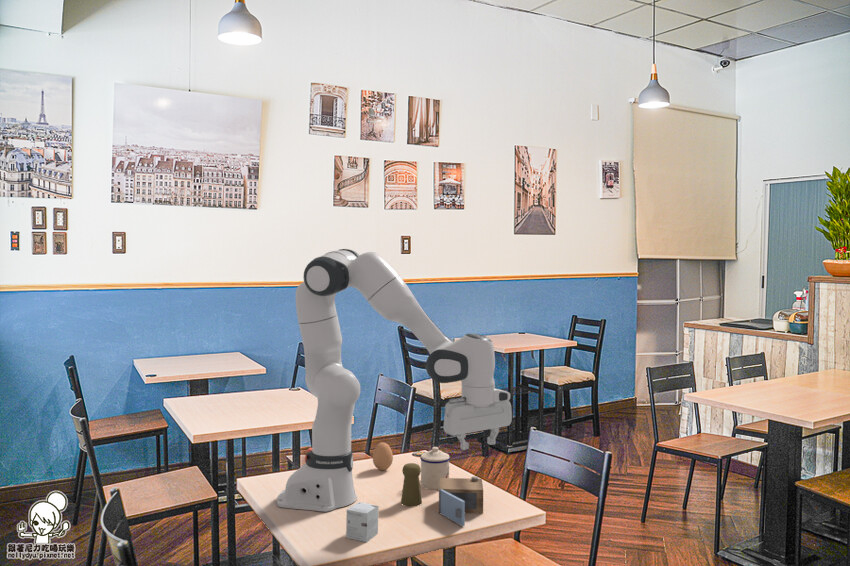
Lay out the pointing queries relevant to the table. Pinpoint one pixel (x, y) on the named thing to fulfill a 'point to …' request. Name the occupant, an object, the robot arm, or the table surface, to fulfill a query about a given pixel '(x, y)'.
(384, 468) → the egg
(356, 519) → the skincare box
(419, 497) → the olive green pepper mill
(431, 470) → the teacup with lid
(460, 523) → the door
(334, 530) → the table surface
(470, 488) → the case
